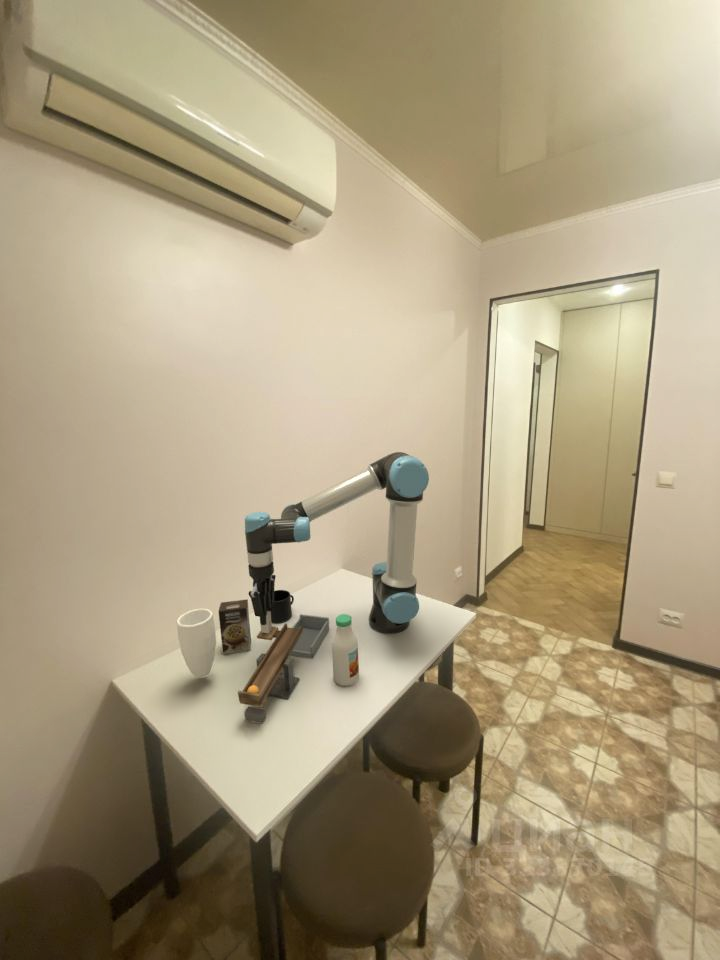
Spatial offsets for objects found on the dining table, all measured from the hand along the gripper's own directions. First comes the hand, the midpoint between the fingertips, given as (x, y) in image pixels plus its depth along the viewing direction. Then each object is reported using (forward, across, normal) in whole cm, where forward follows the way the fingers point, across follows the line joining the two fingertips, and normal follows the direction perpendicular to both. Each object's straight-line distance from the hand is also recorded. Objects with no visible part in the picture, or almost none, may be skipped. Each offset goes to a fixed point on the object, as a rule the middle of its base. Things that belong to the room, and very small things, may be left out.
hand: (266, 630), depth 124 cm
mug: (+11, -25, -8) cm, 29 cm away
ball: (+2, +23, +8) cm, 24 cm away
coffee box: (+11, -3, -14) cm, 18 cm away
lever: (+4, +11, +5) cm, 12 cm away
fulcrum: (+10, +11, +8) cm, 17 cm away
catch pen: (+10, -12, +8) cm, 18 cm away
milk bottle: (+10, +3, +27) cm, 29 cm away
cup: (+11, +14, -15) cm, 23 cm away
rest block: (+10, +23, +8) cm, 26 cm away
